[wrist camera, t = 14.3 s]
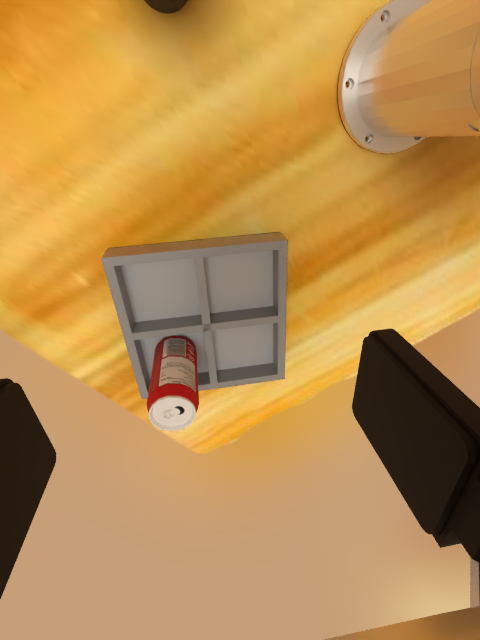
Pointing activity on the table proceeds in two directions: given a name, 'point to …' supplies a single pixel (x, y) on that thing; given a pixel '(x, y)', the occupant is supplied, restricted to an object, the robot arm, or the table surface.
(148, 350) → the drink carrier
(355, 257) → the table surface
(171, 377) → the soda can
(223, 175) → the table surface
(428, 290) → the table surface
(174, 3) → the drinking cup
